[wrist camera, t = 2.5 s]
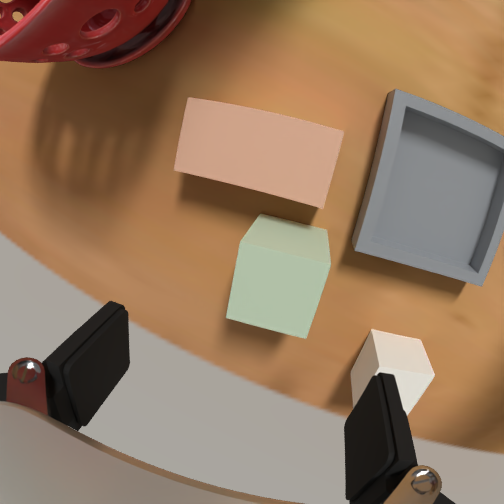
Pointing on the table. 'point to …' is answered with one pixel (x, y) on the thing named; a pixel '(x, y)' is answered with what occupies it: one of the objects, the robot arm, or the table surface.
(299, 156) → the terracotta brick
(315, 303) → the sage block
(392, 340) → the cream cube
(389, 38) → the table surface
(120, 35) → the plant pot
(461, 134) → the grey tray
